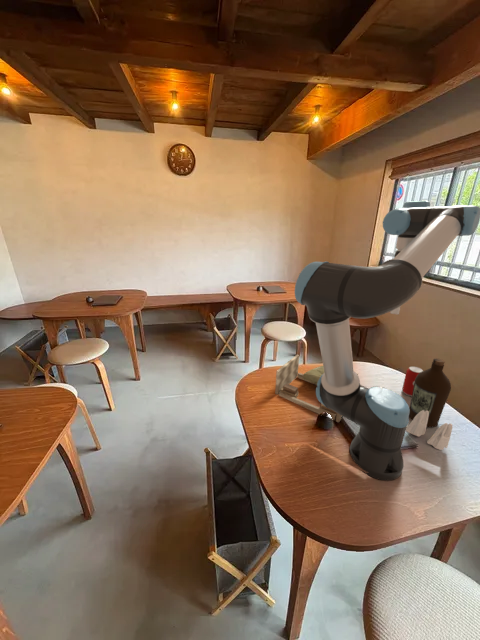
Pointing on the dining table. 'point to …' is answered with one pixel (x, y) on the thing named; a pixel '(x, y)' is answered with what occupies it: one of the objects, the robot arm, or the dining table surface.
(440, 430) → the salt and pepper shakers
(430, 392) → the olive oil
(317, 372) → the decorative tile
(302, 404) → the rack
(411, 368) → the beverage can
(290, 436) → the dining table surface
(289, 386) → the offcut stack
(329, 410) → the offcut stack
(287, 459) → the dining table surface
